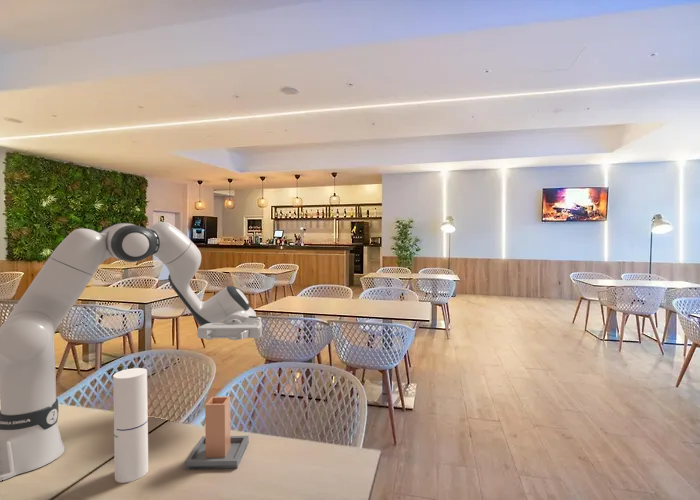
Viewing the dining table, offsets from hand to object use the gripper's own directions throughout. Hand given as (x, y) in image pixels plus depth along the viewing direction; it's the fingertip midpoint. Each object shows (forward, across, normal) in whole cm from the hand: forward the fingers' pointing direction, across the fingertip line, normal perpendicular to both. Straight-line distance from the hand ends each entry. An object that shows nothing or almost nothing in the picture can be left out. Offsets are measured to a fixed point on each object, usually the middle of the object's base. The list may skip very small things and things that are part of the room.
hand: (223, 336), depth 113 cm
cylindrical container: (+22, -16, +28) cm, 39 cm away
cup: (+15, +3, +27) cm, 31 cm away
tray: (+15, +3, +28) cm, 32 cm away
